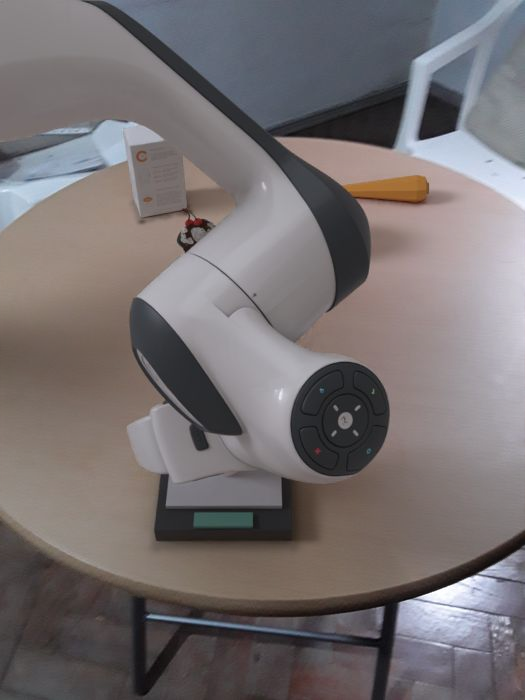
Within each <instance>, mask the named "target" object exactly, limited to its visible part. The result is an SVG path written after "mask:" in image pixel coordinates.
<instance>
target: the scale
mask: <svg viewBox="0 0 525 700" xmlns="http://www.w3.org/2000/svg"><path fill="white" fill-rule="evenodd" d="M291 481H292V480H290V479H287V478H283V477H280V476H277V475H275V474H272V473H270V472H268V471H266V470H263V469H258V470H253V471H238V472H237V473H235V474H233V475H231V476H219V475H216V476H212V477H208V478H204V479H200V480H197V481H190V482H187V483H183V484H175V483H173V482H172V480H171V478H170V476H169V474H160V478H159V486H158V494H157V504H156V511H155V520H154V527H153V529H154V530H153V532H154V536H155V541H159V542H161V541H162V542H165V541H167V542H169V541H171V542H172V541H176V542H177V541H179V542H181V541H183V542H184V541H186V542H187V541H193V542H195V541H197V542H198V541H199V542H200V541H293V511H292V510H293V507H292V505H293V504H292V484H291Z"/></svg>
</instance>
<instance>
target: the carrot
mask: <svg viewBox="0 0 525 700" xmlns="http://www.w3.org/2000/svg"><path fill="white" fill-rule="evenodd" d="M341 186H343V187H344V188H345V189H346V190H347V191H348V192H349V193H350V194H351V195H352V196H353V197H354V198H361V199H362V198H364V199H376V200H387V201H388V200H389V201H398V202H411V203H417V202H418V203H419V202H421V201H425V200H426V198H427V196H428V195H429V193H430V182H428V180H427V178H426V176H423V175H418V174H413V175H406V176H400V177H391V178H383V179H378V180H370V181H363V182H356V183H348V184H343V185H341Z"/></svg>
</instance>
